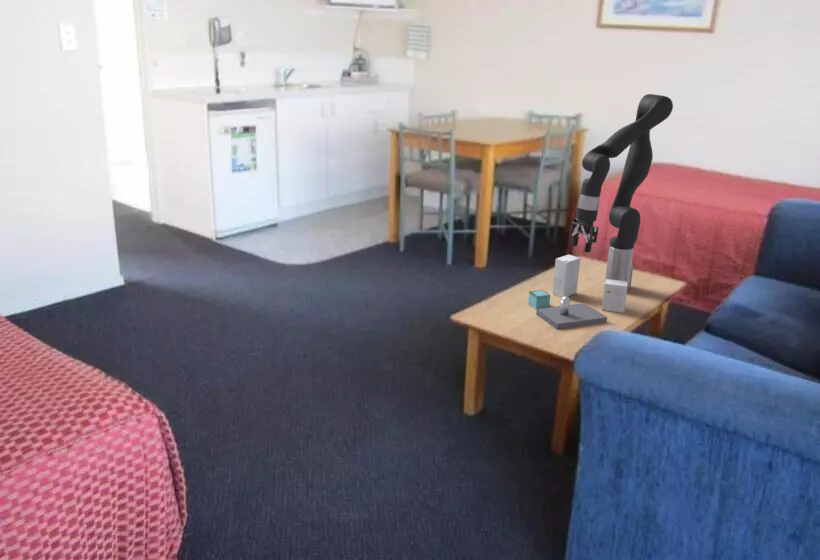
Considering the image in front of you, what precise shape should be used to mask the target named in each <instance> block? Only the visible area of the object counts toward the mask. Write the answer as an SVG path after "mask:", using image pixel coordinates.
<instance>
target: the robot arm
mask: <svg viewBox="0 0 820 560" xmlns="http://www.w3.org/2000/svg"><path fill="white" fill-rule="evenodd" d="M673 108H674V103H673V101H672V99H671V98H670V97H668V96H667V95H660V94H653V93H648V94H647V93H646V94H645V95H643V96H642V98H641V99H640V101H639V103H638V106H637V109H636V116H635V121H633V122H631V123H629V124H627V125H625V126H623V127H621V128H620V129H618V130H616V131H615V132H614V133H613V134H611V136H610V137H609V138H607V140H605V141H604V142H603V143H601V144H599V145H597V146H595V147H594V148H592V149H591V150H589V151H587V153H585V155H584V156H583V158H582V161H581V166H582V168H583V169H584V170H585V171H587V172H589V173H591V175H590V177H589V178H585V179H583V181H582V184H581V185H582V186H581V190H580V196H579V197H578V198H579V199H578V204H577V208H576V214H575V217H573V218H572V220H571V225H570V229H569V233H570V234H571V236H572V239H571V246H572V247H578V244H579V239H580V237H579V236H580V235H581V234H582V235H583V237H584V238H585V244H584V250H583V252H584V253H586V254H587V253H590V252H591V250H592V245H593V243H597V240H598V234H599V233H598V232H599V226H594V223H595V222H596V221H597V218H598V213H599V206H600V202H601V200H600V199H601V193H602V187H603V184H604V183H605V180H606V178H607V176H608V174H609V172H610V169H611V161H610V159H614V158H618V156H620V154H622V153H623V152H624V151H625V150H626V149H627V148H628V147H629V149H628V152H627V156H626V159H625V163H624V167H623V171H622V173H621V174H622V175H621V178H620V182H619V185H618V189H617V191H616V195H615V197H614V200H613V202H612V205H611V207H610V209H609V213H608V222H609V223H610V225H611V226H612V227H614V228H616V229H618V231H617V236H613V237H610V239H609V246H608V255H607V262H606V271H605V278H604V282H605V281H606V279H610V280H619V281H628V286H627V291H628V290H629V289H631V288H632V279H633V273H634V265H632V264H633V263H632V262H633V256H634V250H635V249H634V248H635V244H636V242H637V240H638V236H639V231H640V227H641V226H640V224H641V214H640V212H639V210H638V209H637V208H634V207H631V203H632V201H633V200H632V199H633V197H634V194H635V193H636V191H637V189H638V188H639V187H640V186H641V185H642V184H643V182H644V181H645V180H646V178H647V177H648V175H649V173H650V169H651V165H652V162H653V158H654V157H653V156H654V155H653V148H652V143H651V138H650V137H651V135H650V134H651V130H652V129H653V128H655V127H657V126H658V125H659V124H662V122H664V121H665V120H666V119H668V118H669V117H670V116H671V114H672V112H673V110H674V109H673ZM604 287H605V284H604Z"/></svg>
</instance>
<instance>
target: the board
mask: <svg viewBox="0 0 820 560" xmlns="http://www.w3.org/2000/svg"><path fill="white" fill-rule="evenodd" d="M560 307H561V305H559V306H558V305H557V306H551V307H550V306H549V308H542V309H536V312H535V315H537V316H538V317H539V318H541V319H542V320H544V321H545V322H546V323H548V325H551V326H552V327H553V328H555V329H556V330H562V329H568V328H569V329H571V328H576V327H583V326H589V325H598V324H605V322H606V323H607V320H608V316H606V315H605V314H603V313H601V312H599V311H598V310H596V309H595V308H593V307H592V306H590V305H588V304H587V303H585V302H583V303H576V304H570V305H569V314H568V315H562V314H560Z"/></svg>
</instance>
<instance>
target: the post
mask: <svg viewBox="0 0 820 560" xmlns="http://www.w3.org/2000/svg"><path fill="white" fill-rule="evenodd" d="M570 303H571V299H570V297H569V296H564V297H561V300H560V306H561V307H560V314H562V315H568V314H569V305H571V304H570Z"/></svg>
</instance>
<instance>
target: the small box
mask: <svg viewBox="0 0 820 560" xmlns="http://www.w3.org/2000/svg"><path fill="white" fill-rule="evenodd" d="M604 285H605V286H604V289H603V297H602V307H601V310H602V311H607V312H613V313H614V312H616V313H622V314H624V313H625V309H626V303H627V302H626V301H627V296H628V290H627V286H628V281H619V280H610V279H606V281H605V280H604Z"/></svg>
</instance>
